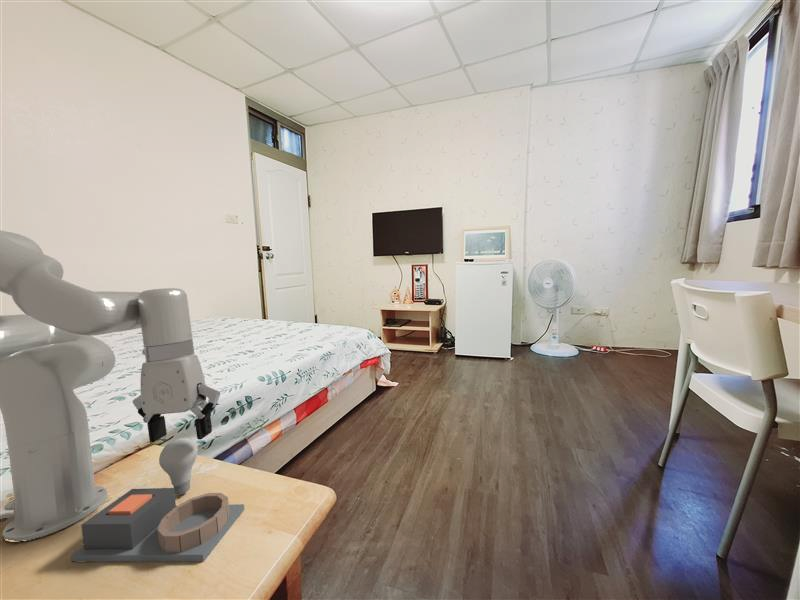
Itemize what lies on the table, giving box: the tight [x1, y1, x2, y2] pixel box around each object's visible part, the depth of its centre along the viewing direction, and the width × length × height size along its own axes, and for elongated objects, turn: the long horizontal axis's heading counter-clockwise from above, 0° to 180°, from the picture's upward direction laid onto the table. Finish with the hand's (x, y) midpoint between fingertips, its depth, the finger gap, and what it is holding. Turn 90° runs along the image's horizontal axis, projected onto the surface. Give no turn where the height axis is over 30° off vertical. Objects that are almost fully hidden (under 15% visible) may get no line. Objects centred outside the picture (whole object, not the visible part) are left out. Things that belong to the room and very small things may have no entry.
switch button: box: [108, 494, 152, 515], centre depth 49 cm, size 4×4×4 cm
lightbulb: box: [158, 437, 199, 496], centre depth 58 cm, size 6×6×11 cm
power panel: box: [70, 487, 245, 563], centre depth 48 cm, size 21×10×5 cm, turn 87°
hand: (181, 437), depth 58 cm, fingers open, 9 cm apart
